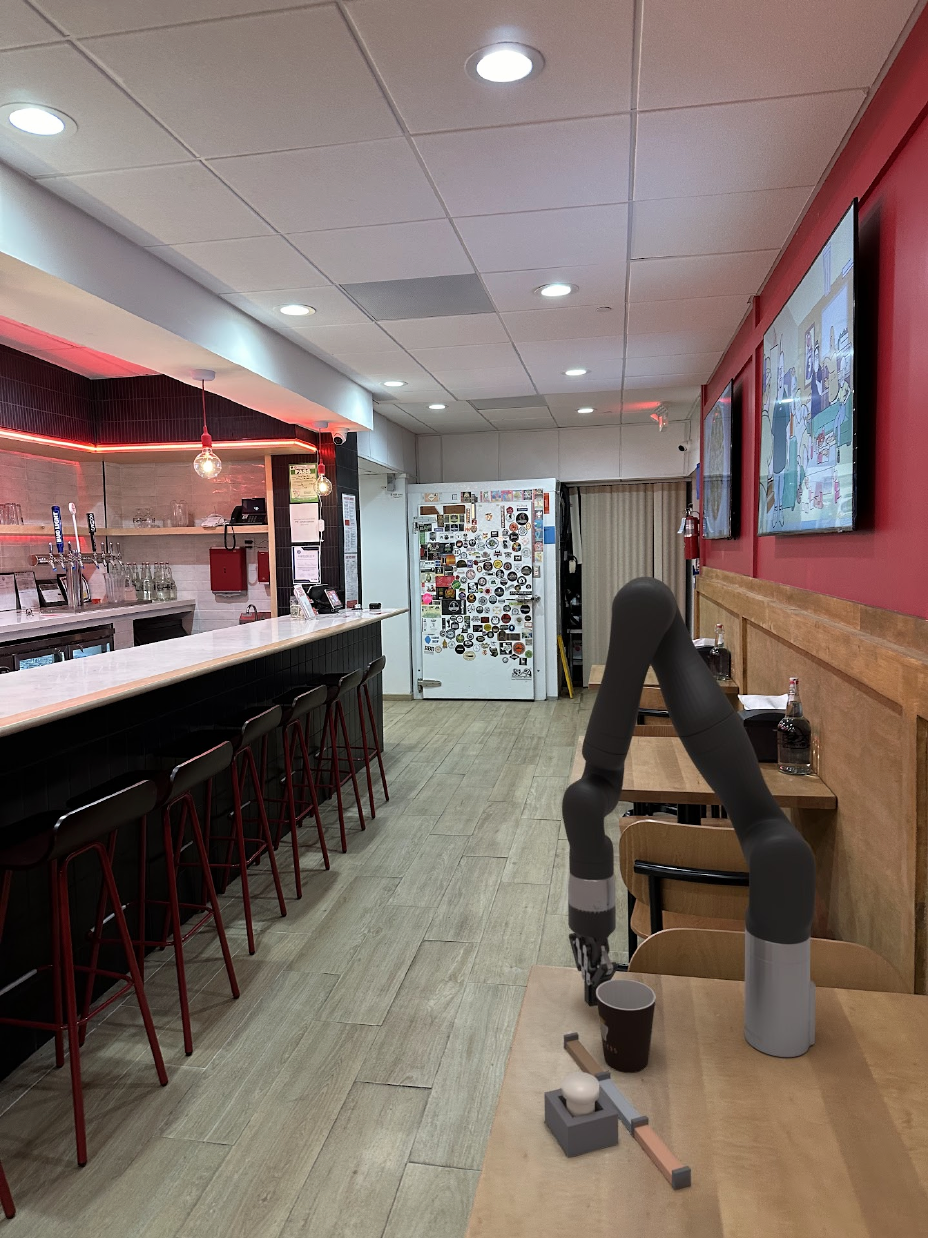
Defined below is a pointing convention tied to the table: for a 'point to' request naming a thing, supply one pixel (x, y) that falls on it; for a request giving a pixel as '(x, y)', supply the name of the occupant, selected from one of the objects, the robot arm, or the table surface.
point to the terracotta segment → (660, 1153)
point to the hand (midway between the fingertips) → (592, 1003)
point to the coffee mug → (625, 1023)
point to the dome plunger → (580, 1093)
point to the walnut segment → (581, 1054)
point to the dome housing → (581, 1125)
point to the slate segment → (616, 1098)
